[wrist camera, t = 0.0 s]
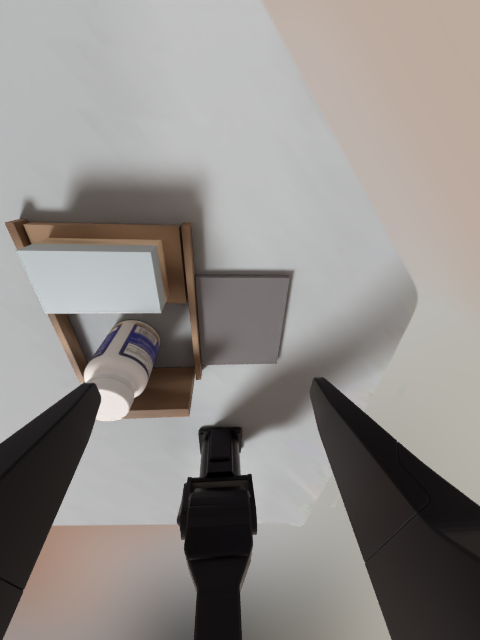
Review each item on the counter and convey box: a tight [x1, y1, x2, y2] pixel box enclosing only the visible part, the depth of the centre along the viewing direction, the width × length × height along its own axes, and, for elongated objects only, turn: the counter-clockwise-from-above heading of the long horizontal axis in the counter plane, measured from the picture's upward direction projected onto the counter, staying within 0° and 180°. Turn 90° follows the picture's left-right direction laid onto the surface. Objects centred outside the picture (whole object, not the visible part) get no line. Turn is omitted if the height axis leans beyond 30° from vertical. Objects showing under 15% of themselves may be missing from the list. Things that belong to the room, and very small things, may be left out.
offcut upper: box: [15, 244, 165, 314], centre depth 18 cm, size 5×9×2 cm, turn 88°
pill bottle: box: [84, 320, 160, 421], centre depth 22 cm, size 5×5×9 cm
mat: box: [195, 275, 290, 365], centre depth 26 cm, size 11×9×1 cm
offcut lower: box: [34, 238, 169, 303], centre depth 20 cm, size 5×9×2 cm, turn 88°
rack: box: [5, 219, 202, 420], centre depth 22 cm, size 18×14×6 cm
